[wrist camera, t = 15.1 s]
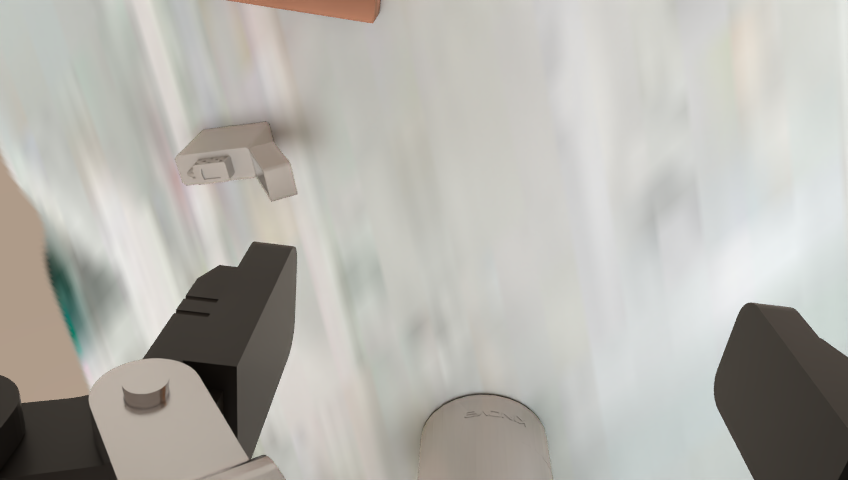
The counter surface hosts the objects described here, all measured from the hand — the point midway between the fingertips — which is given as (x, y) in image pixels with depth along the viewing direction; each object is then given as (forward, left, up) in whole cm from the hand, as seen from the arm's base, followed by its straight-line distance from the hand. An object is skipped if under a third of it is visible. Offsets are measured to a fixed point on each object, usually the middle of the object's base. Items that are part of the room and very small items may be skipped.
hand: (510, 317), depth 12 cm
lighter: (-8, +11, -28) cm, 31 cm away
